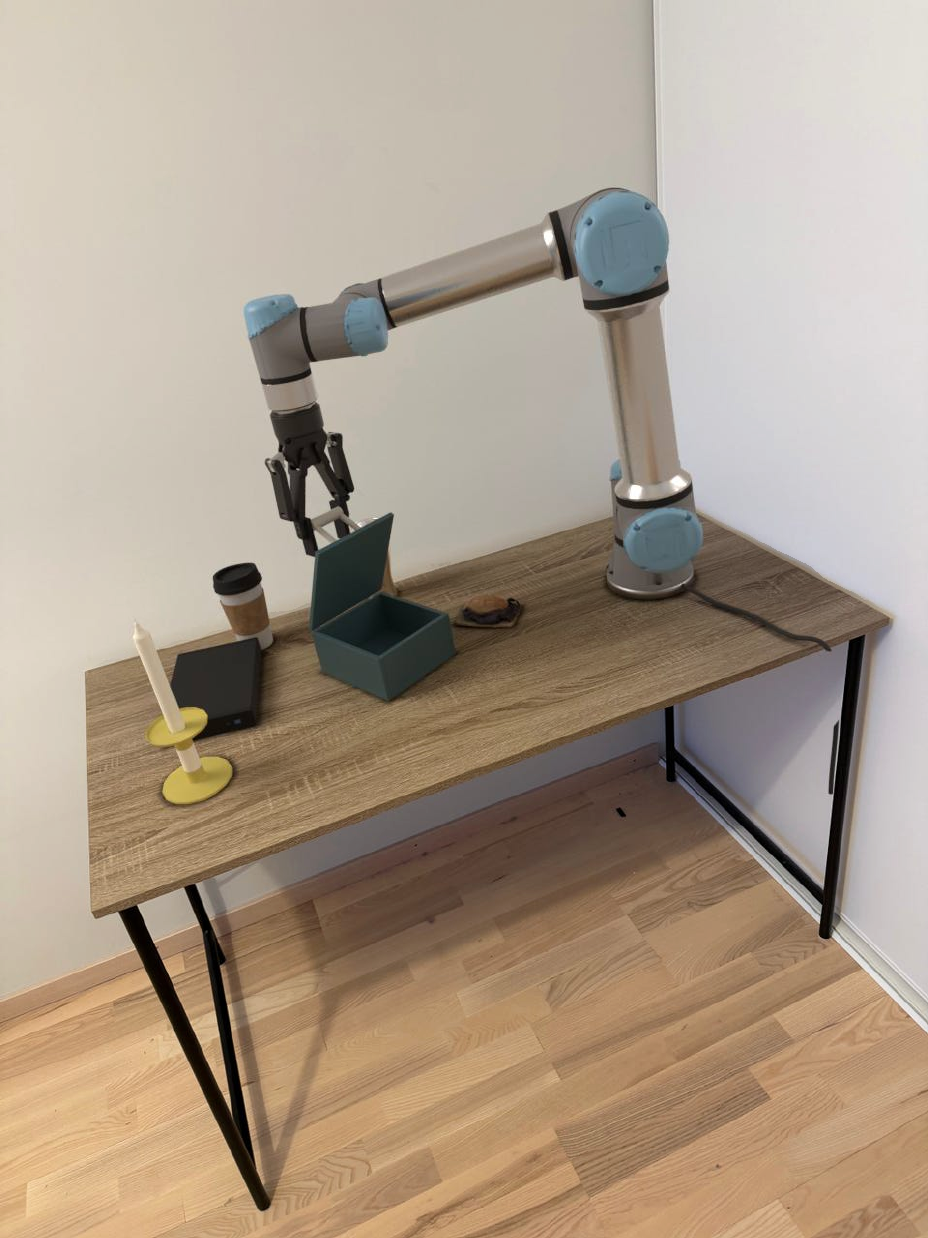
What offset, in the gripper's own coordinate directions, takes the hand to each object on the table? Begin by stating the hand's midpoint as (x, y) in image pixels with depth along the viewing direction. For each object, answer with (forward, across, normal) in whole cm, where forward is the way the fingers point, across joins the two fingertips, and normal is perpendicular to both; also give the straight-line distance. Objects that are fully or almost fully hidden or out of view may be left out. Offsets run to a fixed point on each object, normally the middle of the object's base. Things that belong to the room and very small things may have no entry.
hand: (329, 546), depth 136 cm
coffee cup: (+20, +8, -18) cm, 28 cm away
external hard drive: (+20, +22, -10) cm, 31 cm away
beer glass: (+20, -16, -10) cm, 28 cm away
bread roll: (+20, -20, +14) cm, 31 cm away
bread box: (+20, 0, +9) cm, 22 cm away
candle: (+20, +36, +6) cm, 42 cm away
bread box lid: (+4, 0, +5) cm, 6 cm away
